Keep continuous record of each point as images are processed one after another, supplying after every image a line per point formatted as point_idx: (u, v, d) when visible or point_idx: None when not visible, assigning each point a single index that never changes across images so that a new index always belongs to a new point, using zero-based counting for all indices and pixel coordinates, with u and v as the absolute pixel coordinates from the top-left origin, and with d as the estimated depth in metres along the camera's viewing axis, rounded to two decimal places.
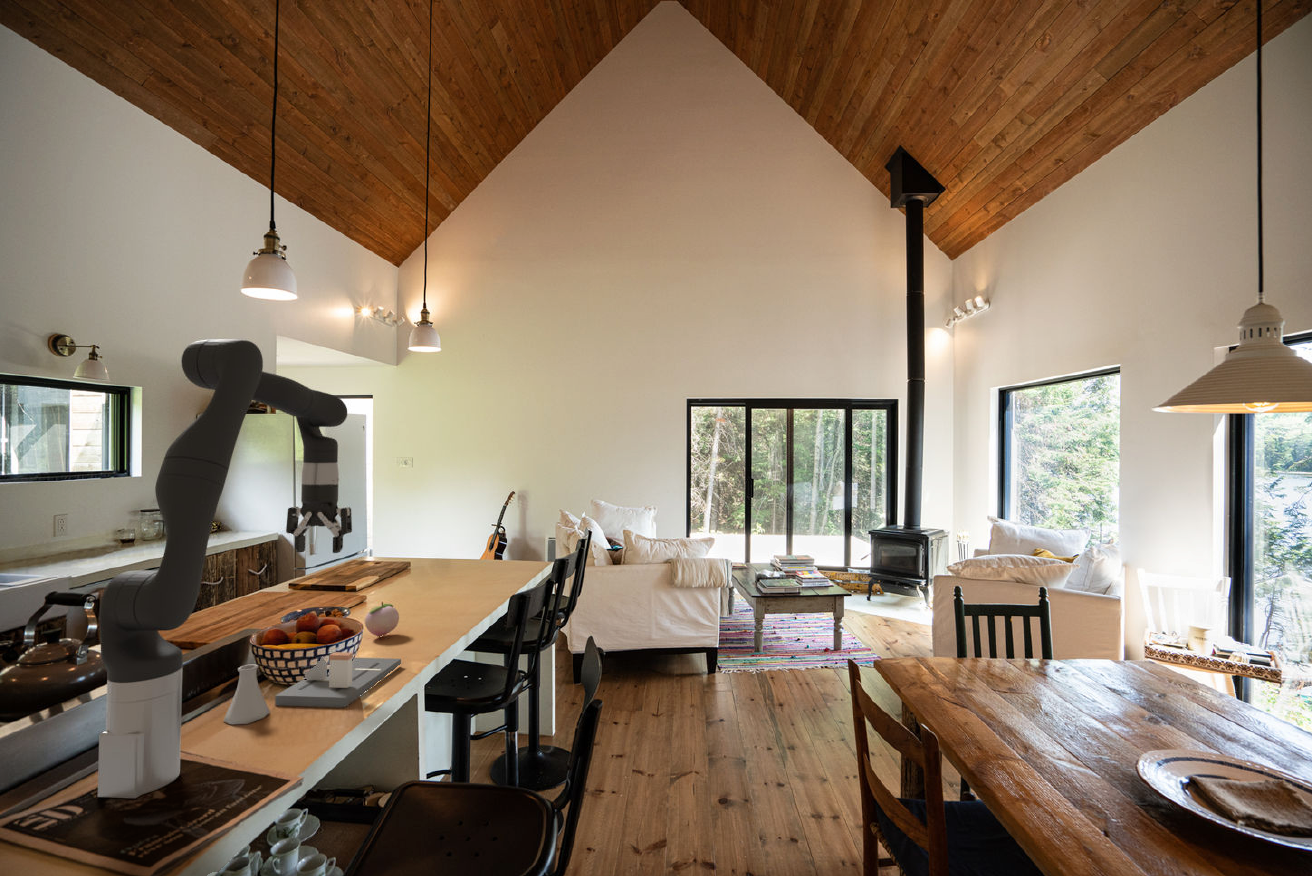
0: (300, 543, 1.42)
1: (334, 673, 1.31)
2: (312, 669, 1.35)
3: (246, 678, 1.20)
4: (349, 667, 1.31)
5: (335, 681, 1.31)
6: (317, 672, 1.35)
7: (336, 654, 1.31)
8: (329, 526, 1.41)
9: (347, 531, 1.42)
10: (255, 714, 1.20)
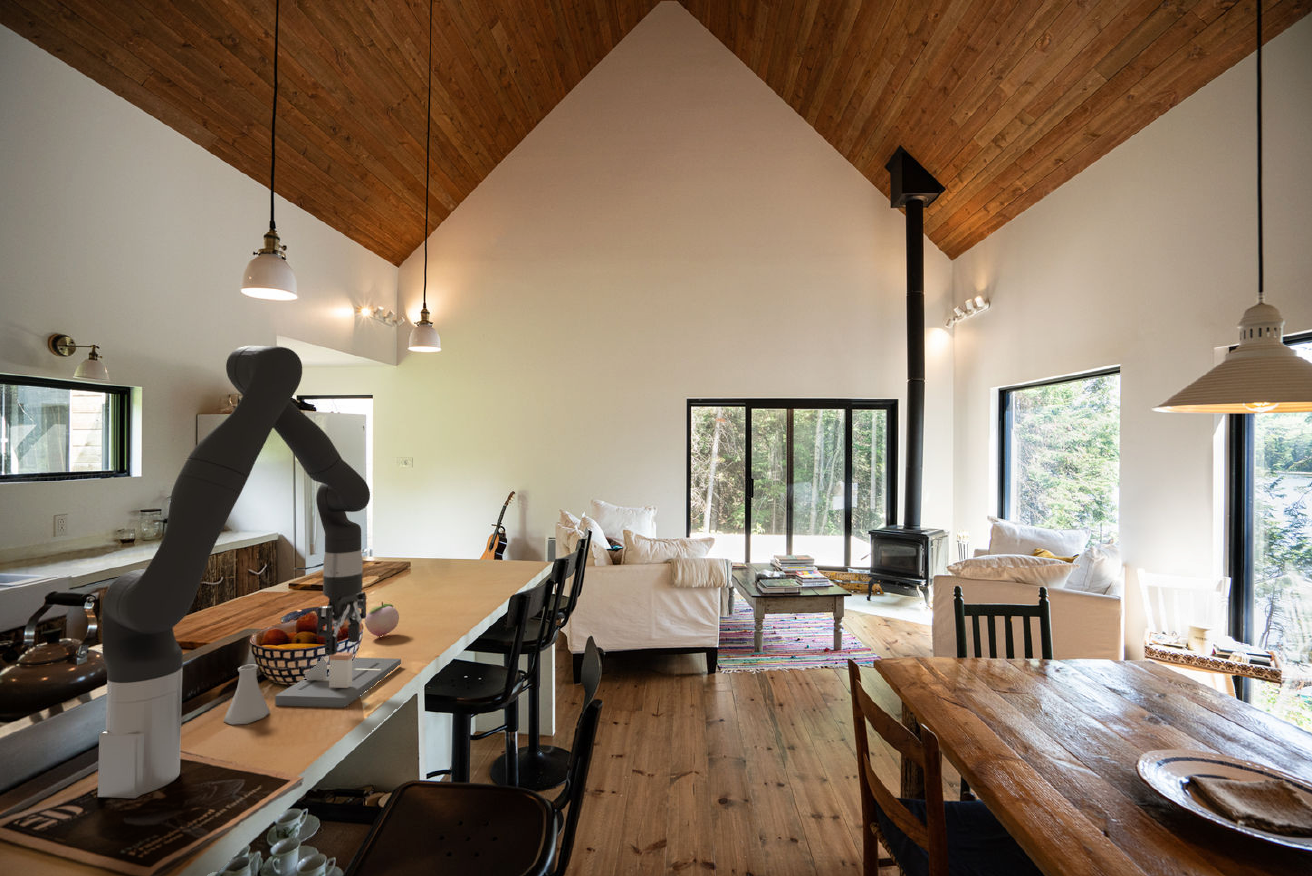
0: None
1: (334, 673, 1.31)
2: (312, 669, 1.35)
3: (246, 678, 1.20)
4: (349, 667, 1.31)
5: (335, 681, 1.31)
6: (317, 672, 1.35)
7: (336, 654, 1.31)
8: (359, 614, 1.35)
9: None
10: (255, 714, 1.20)
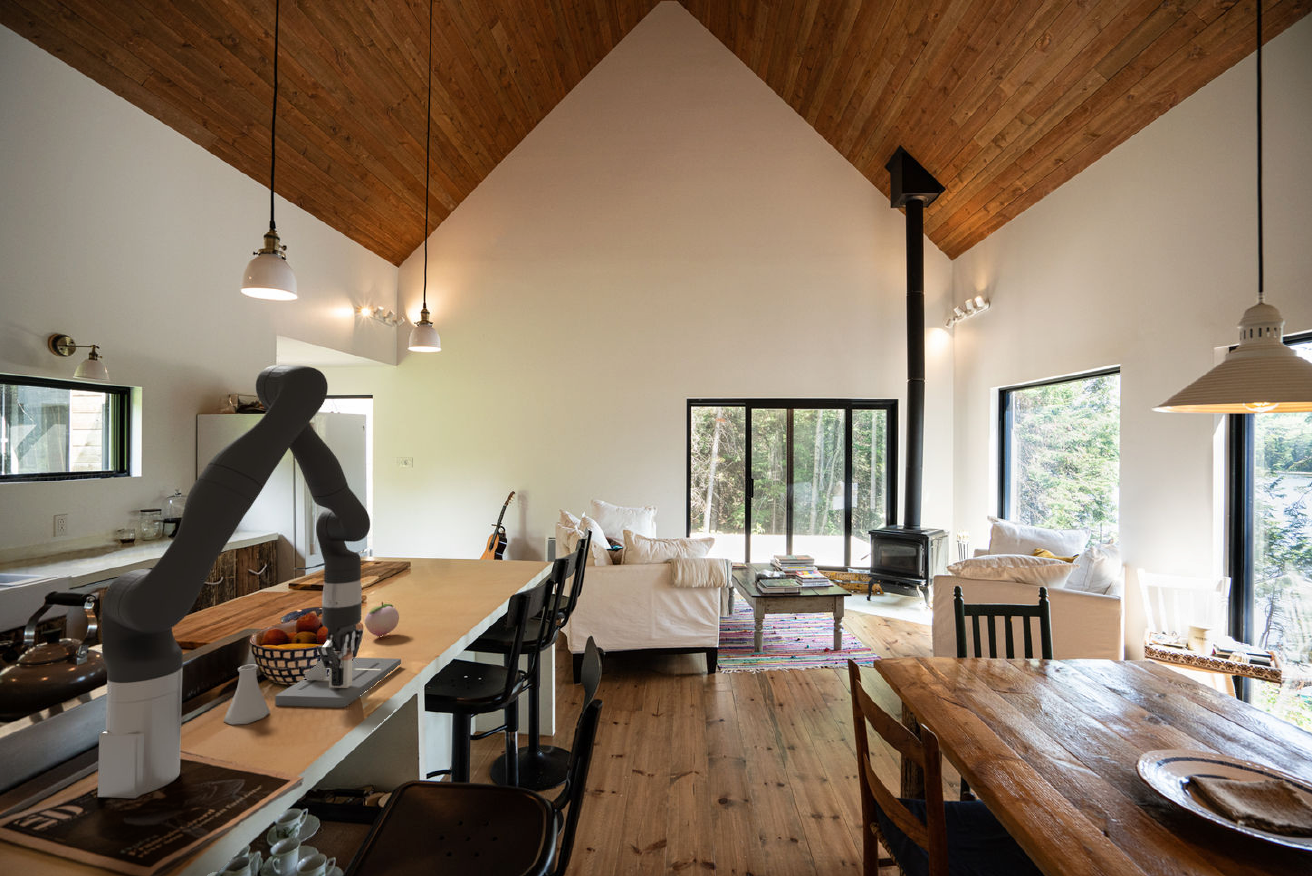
0: None
1: None
2: (312, 669, 1.35)
3: (246, 678, 1.20)
4: (349, 667, 1.31)
5: None
6: (317, 672, 1.35)
7: None
8: (352, 649, 1.33)
9: None
10: (255, 714, 1.20)
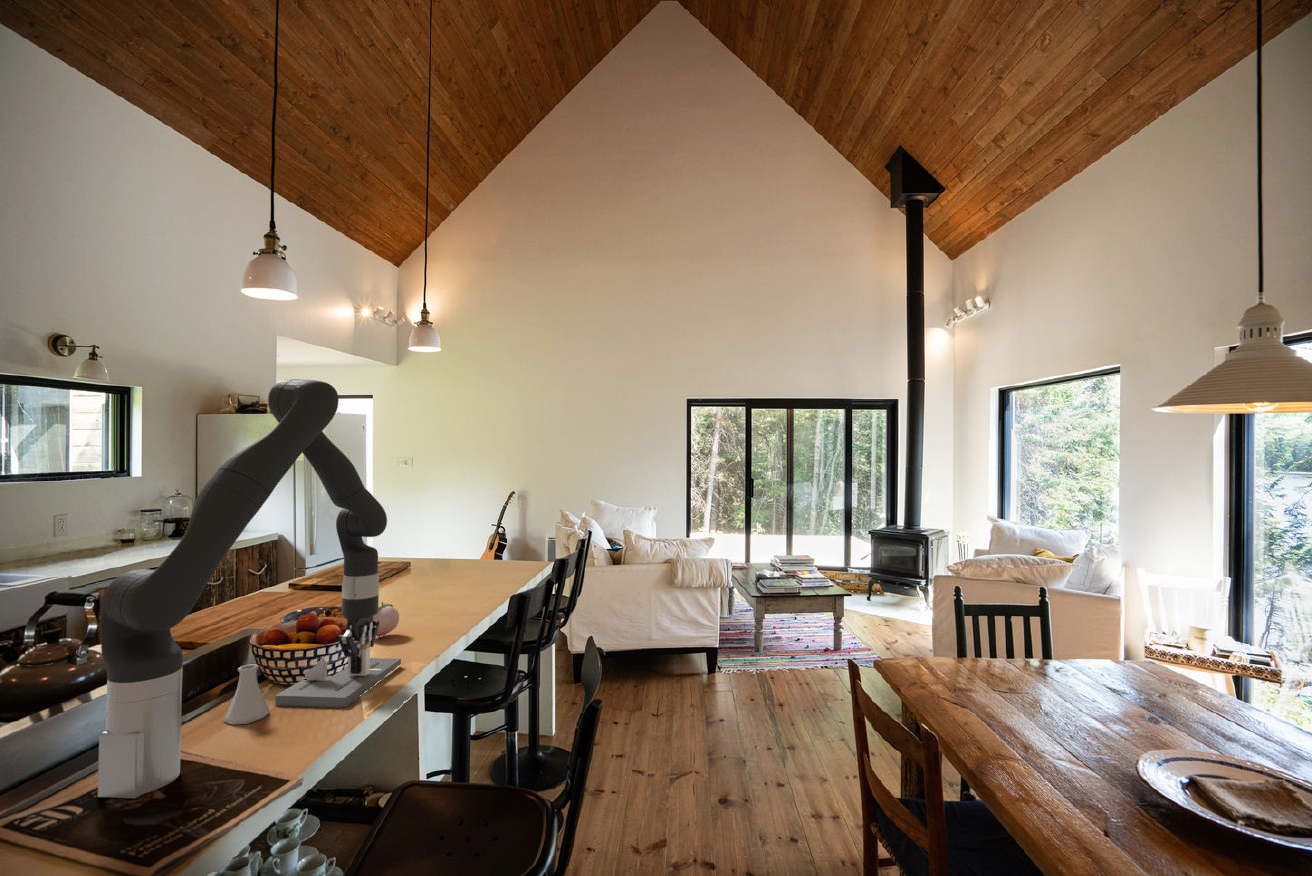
0: None
1: None
2: (312, 669, 1.35)
3: (246, 678, 1.20)
4: (367, 656, 1.39)
5: None
6: (317, 672, 1.35)
7: None
8: (370, 639, 1.40)
9: None
10: (255, 714, 1.20)
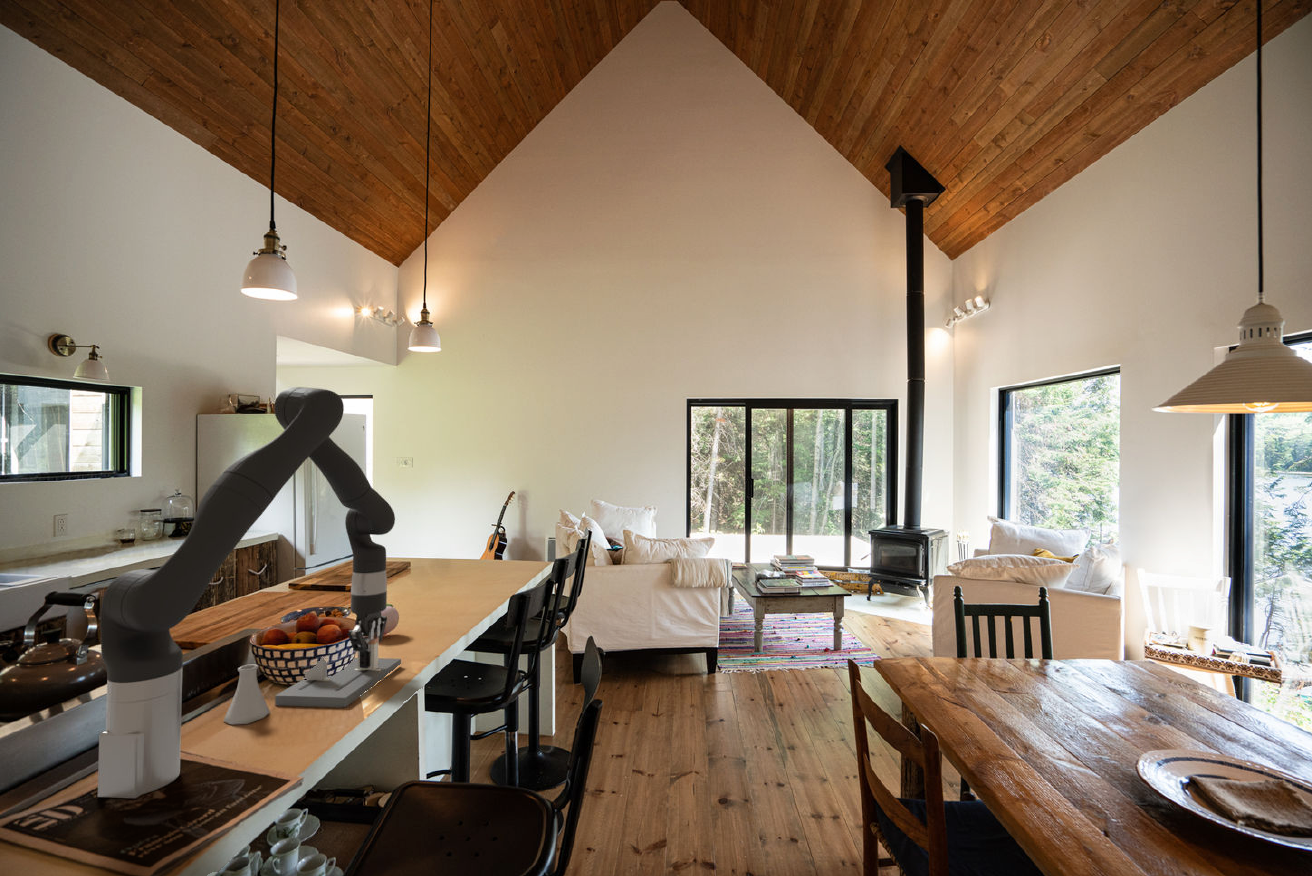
0: None
1: None
2: (312, 669, 1.35)
3: (246, 678, 1.20)
4: (376, 651, 1.42)
5: None
6: (317, 672, 1.35)
7: None
8: (378, 635, 1.44)
9: None
10: (255, 714, 1.20)
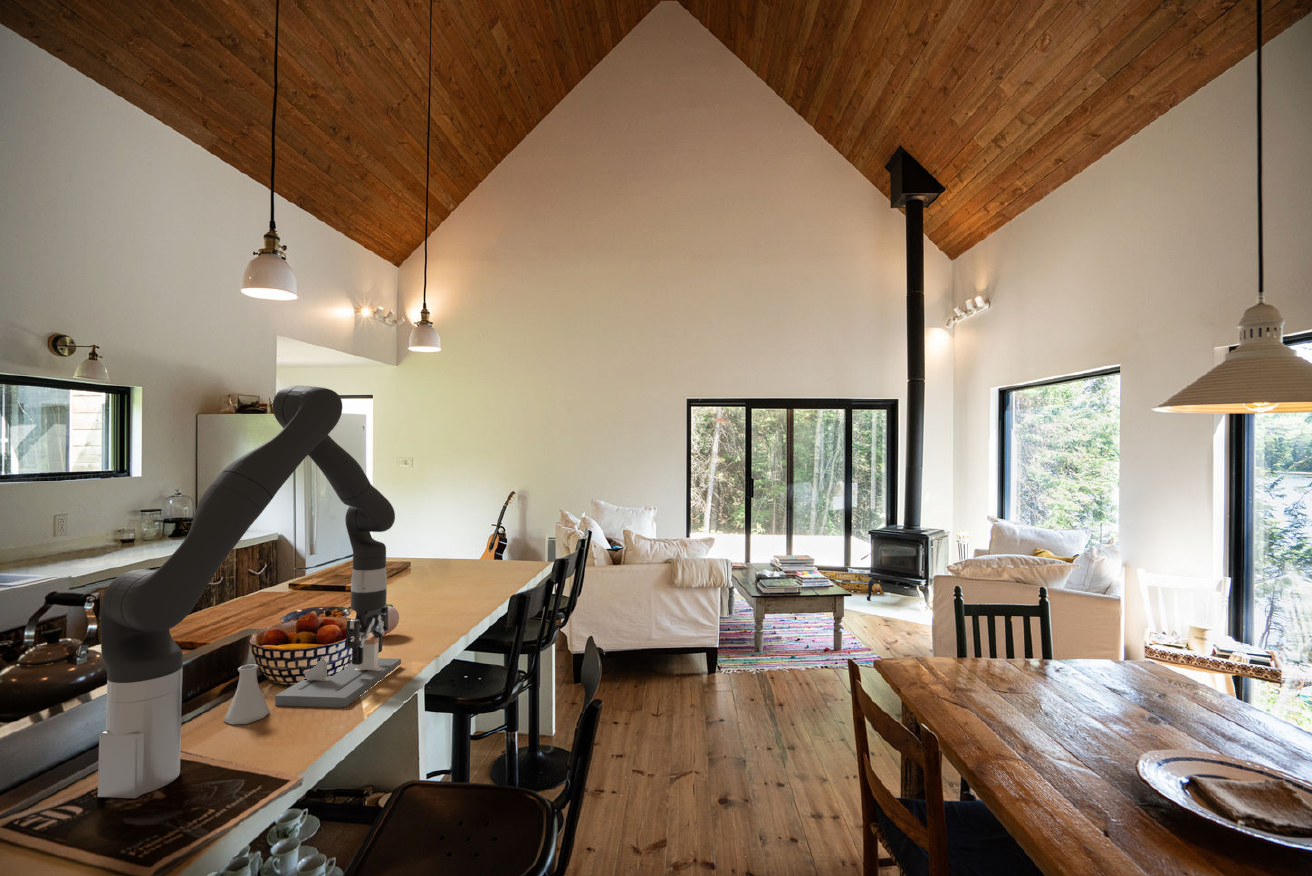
0: None
1: None
2: (312, 669, 1.35)
3: (246, 678, 1.20)
4: (376, 651, 1.42)
5: (363, 663, 1.42)
6: (317, 672, 1.35)
7: None
8: (382, 627, 1.46)
9: None
10: (255, 714, 1.20)
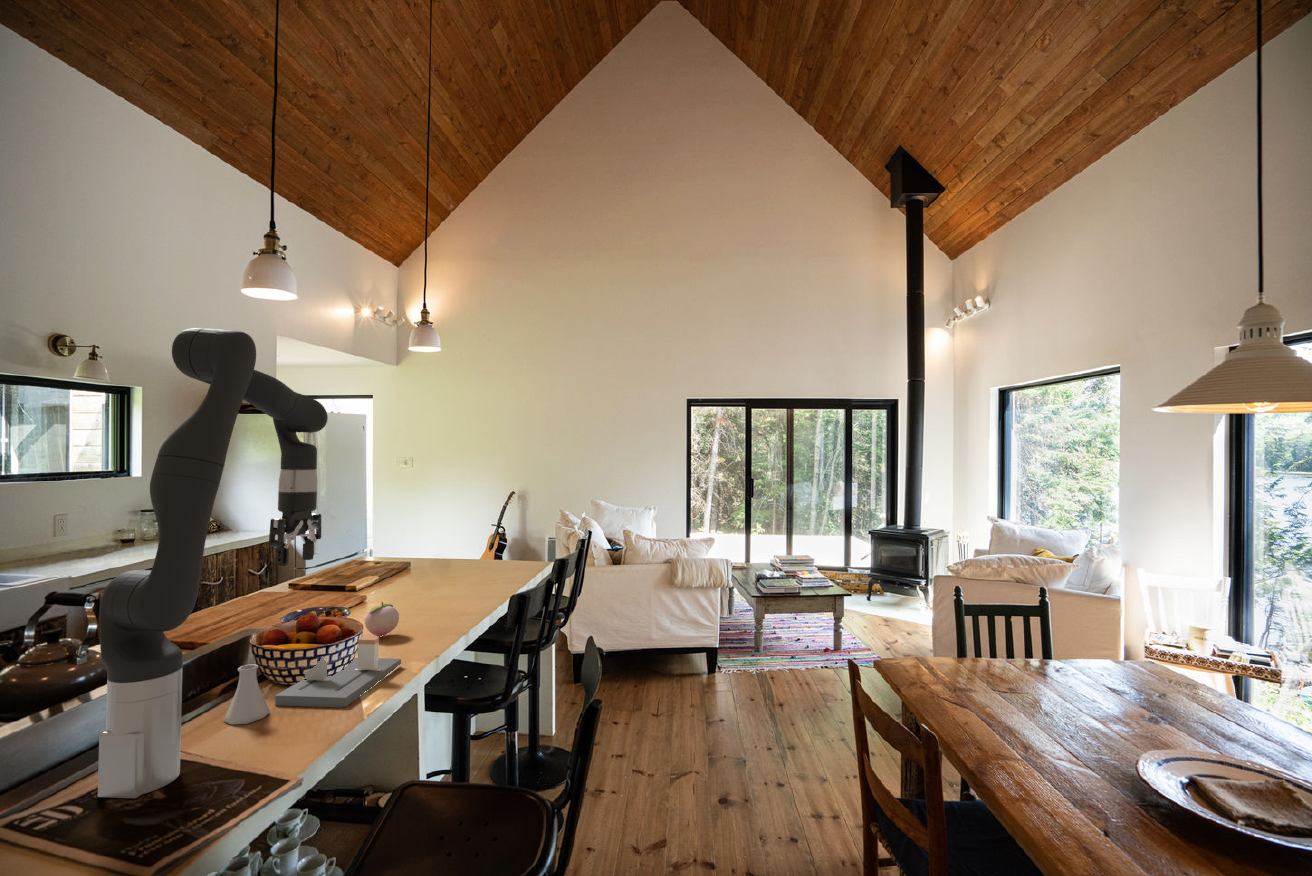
0: None
1: (362, 656, 1.42)
2: (312, 669, 1.35)
3: (246, 678, 1.20)
4: (376, 651, 1.42)
5: (363, 663, 1.42)
6: (317, 672, 1.35)
7: (363, 639, 1.42)
8: (313, 533, 1.41)
9: None
10: (255, 714, 1.20)
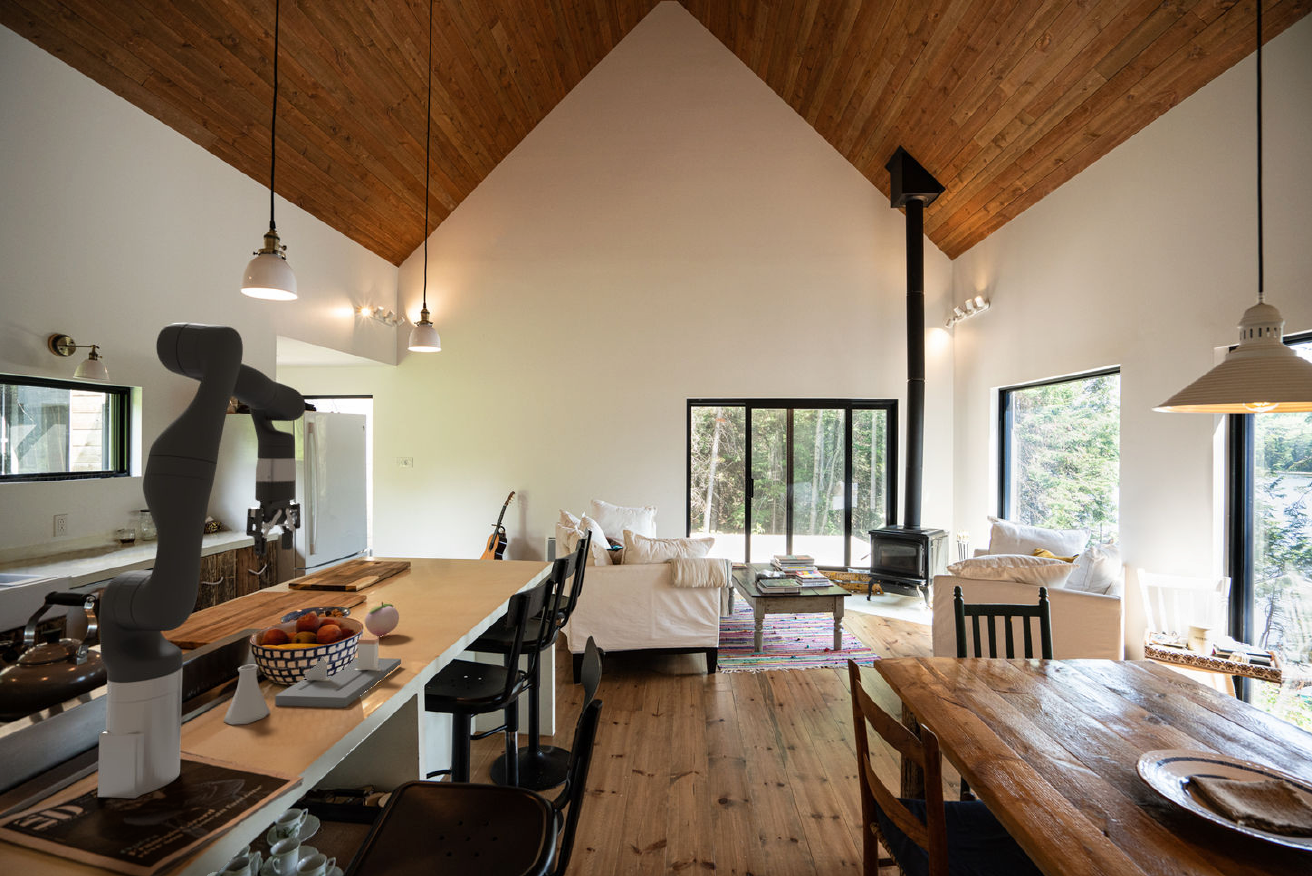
0: None
1: (362, 656, 1.42)
2: (312, 669, 1.35)
3: (246, 678, 1.20)
4: (376, 651, 1.42)
5: (363, 663, 1.42)
6: (317, 672, 1.35)
7: (363, 639, 1.42)
8: (292, 522, 1.40)
9: None
10: (255, 714, 1.20)
